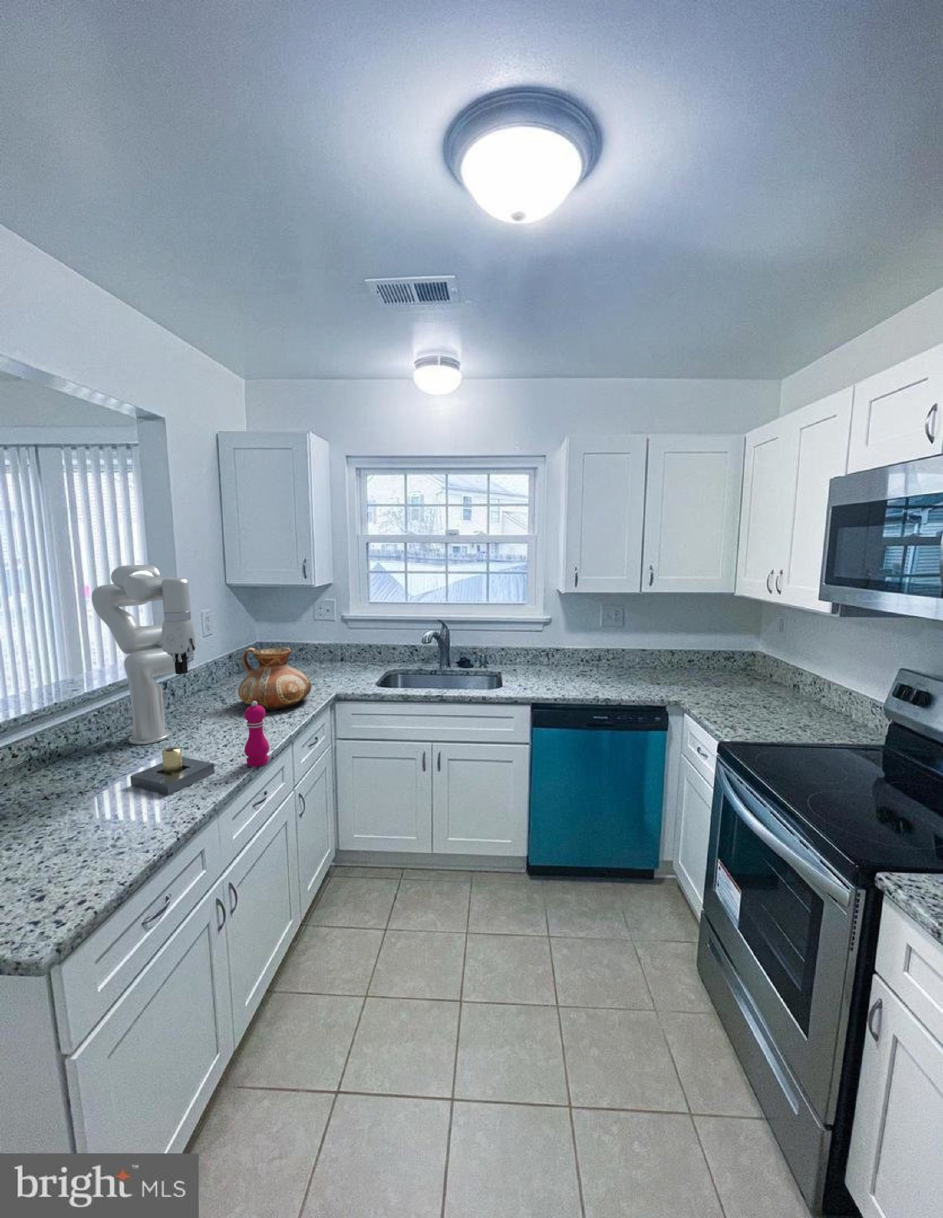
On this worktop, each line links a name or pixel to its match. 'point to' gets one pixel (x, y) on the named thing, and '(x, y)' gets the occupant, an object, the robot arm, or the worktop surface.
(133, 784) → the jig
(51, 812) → the worktop surface
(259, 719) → the pepper mill
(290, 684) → the jug
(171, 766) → the cylinder
